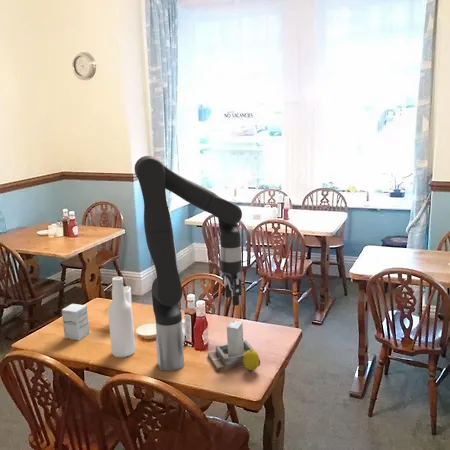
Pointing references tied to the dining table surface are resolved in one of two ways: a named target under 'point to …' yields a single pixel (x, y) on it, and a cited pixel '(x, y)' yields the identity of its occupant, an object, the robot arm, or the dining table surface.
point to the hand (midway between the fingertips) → (232, 300)
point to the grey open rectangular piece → (222, 359)
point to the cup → (126, 294)
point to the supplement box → (75, 321)
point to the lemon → (251, 359)
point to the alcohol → (121, 322)
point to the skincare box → (235, 339)
